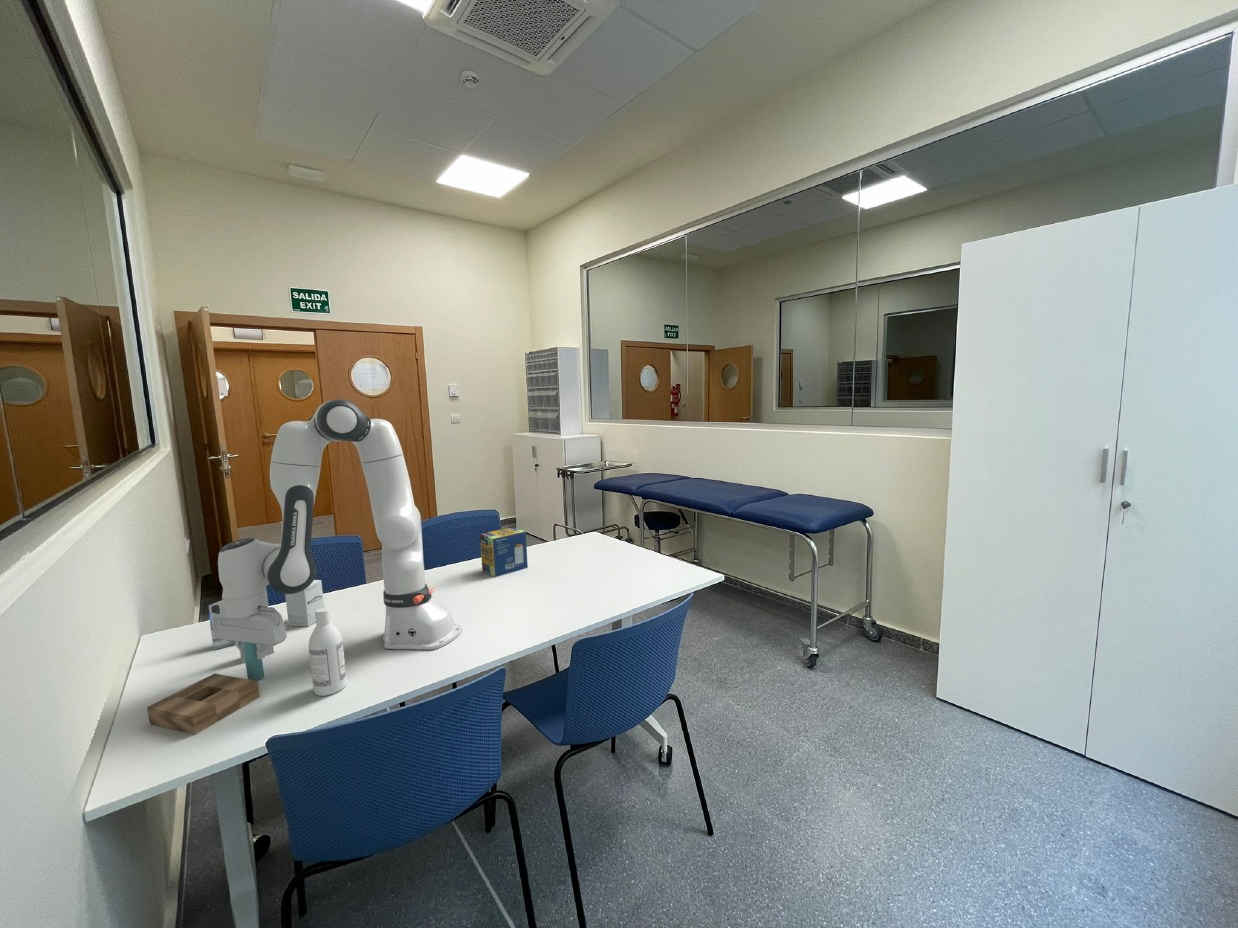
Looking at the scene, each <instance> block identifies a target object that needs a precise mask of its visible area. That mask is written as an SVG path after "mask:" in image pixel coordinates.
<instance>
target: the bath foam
mask: <svg viewBox="0 0 1238 928" xmlns="http://www.w3.org/2000/svg"><path fill="white" fill-rule="evenodd" d="M315 617H316V622H315V624H316V625H315V627H314V629H313V631H312V633H311V635H310V637H309V639H308V640H309V641H308V652H309V653H308V654H309V660H310V661H309V662H310V670H311V678H312V685H313V693H314V694H315V695H317V696H320V697H321V696H322V697H325V696H332V695H335V694H336V693H338V692H340V691H342V690H343V689H344V688H345V687H346V686H347V683H348V682H347V671H346V662H345V654H344V653H345V650H344V644H343V642H344V641H343V638H342V634H341V631H340V630H339V629H338V627H336V626H335V625H334V624H333V623H332V622H331V614H330V608H329V607H328V606H327V607H325V606H324V607H323V608H319V609H317V610H315Z"/></svg>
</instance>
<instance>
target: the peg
mask: <svg viewBox="0 0 1238 928" xmlns="http://www.w3.org/2000/svg"><path fill="white" fill-rule="evenodd" d="M243 649H244V656H245V663H244V664H245V670H246V676H247V677H246V679H249V680H255V681H261V680H262V679H263V678H265V672H264V671H265V670H264V665H263V659H261V660H260V659H255V656H254V653H255V652H257V649H258V647H256V644H254V643H247V642H243Z"/></svg>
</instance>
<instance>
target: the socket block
mask: <svg viewBox="0 0 1238 928" xmlns="http://www.w3.org/2000/svg"><path fill="white" fill-rule="evenodd" d="M258 681H259V680H258ZM258 681H255V680H249V679H248V678H243V677H238V676H237V677H236V676H232V675H226V674H219V673H213V674H210V675H208V676H207V677H204V678H203V679H200V680H199V681H196V682H194V683H193V684H190V685H188V686H186V687H184V688H182V689H181V690H178V691H177V692H174V693H172V694H171V695H168V696H167V697H165V698H163V699H160V700H159V701H157V702H154V703H152V704H151V705H148V706H147V707H146V710H147V715H148V721H149V725H152V726H157V727H160V728H161V727H162V728H165V729H170V730H174V731H178V732H183V733H187V734H190V735H191V734H192V735H197V734H199V733H200V732H202V731H204V730H206V729H208V728H209V727H210V726H212V725H214V724H216V723H218V722H220V720H221V721H222V719H225V718H226V717H228V716H229V715H231V714H233V713H234V712H236V711H238V710H240V709H241V708H243V707H245V706H246V705H248V704H249V703H251V702H253V701H255V700H256V699H257V700H258V698H260V691H259V690H260V689H259V682H258Z"/></svg>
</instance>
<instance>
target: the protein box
mask: <svg viewBox="0 0 1238 928" xmlns="http://www.w3.org/2000/svg"><path fill="white" fill-rule="evenodd" d="M479 540H480V542H479V543H480V553H481V554H480V556H481V570H482V572H484V573H486V574H488V575H489V576H492V577H494V578H497V577H500V576H503V575H507V574H510V573H514V572H517V571H521V570H525V569H528V550H527V549H528V548H527V546H528V545H527V544H528V543H527V532H526V530H522V529H520V528H517V527H514V526H510V527H506V528H502V529H498V530H493V531H488V532H484V533H479Z"/></svg>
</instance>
